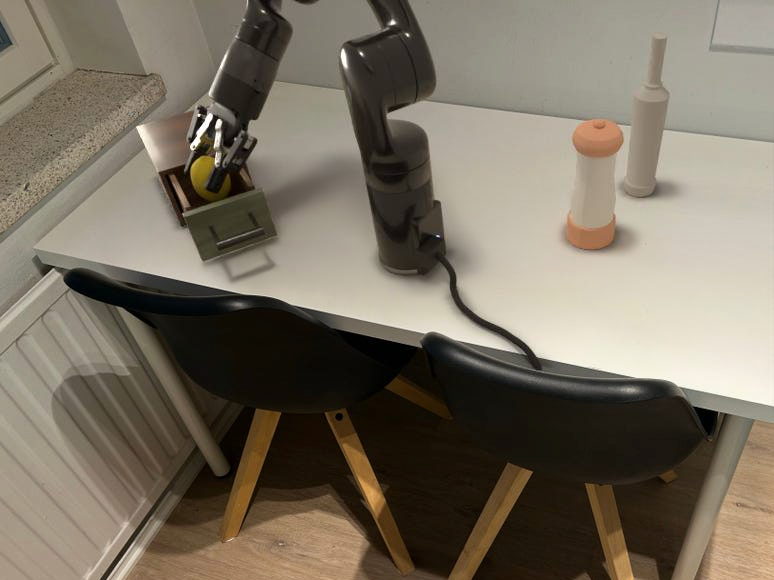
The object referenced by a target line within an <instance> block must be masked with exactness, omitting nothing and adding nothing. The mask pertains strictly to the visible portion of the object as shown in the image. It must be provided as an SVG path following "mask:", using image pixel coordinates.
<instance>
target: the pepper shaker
mask: <svg viewBox="0 0 774 580" xmlns="http://www.w3.org/2000/svg"><path fill="white" fill-rule="evenodd" d="M624 139H625V137H624V132H623V131H622V129H621V127H620V126H619V125H618V123H615V122H614V121H611V120H609V119H604V118H594V119H593V118H592V119H588V120H584V121H582V122H581V123H580V124H578V125H577V126H576V128H575V130H574V131H573V133H572V137H571V141H572V145H573V147H574V149H575V151H576V165H575V174H574V179H573V182H572V187H571V190H570V191H571V192H570V206H569V207H570V210H569V212H568V213H567V217H566V218H567V219H566V239H567V241H568V242H569V243H570V244H572V246H575V247H576V248H579V249H583V250H592V251H594V250H600V249H603V248H605V247H607V246H609V245H610V244H611V243H612V242H613V240H614V238H615V229H616V221H617V218H616V213H615V207H616V202H617V195H616V182H615V173H616V163H617V153H618V152H619V151H620V150H621V148H622V146H623V144H624V142H625V140H624Z"/></svg>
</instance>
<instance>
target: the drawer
mask: <svg viewBox="0 0 774 580" xmlns="http://www.w3.org/2000/svg"><path fill="white" fill-rule="evenodd" d="M225 158H226V156H225V157H223V160H225ZM237 161H238V159H237V158H236V157H235V161H234V163H236V162H237ZM184 170H185V169H183V170H180V171H176V172H173V173H170V174H168V176H169V178H170V181H171V183H172V186H173V188H174V190H175V193H176V195H177V198H178V200H179V202H180V205H181V207H182V209H183V211H184V213H182V214H183V217H184V219H185V221H186V224H185V225H186V226H187V228H188V231H189V233H190V236H191V238H192V240H193V242H194V245H195V247H196V250H197V252H198V255H199V257H200V259H201V261H202V262H203V263H204V262H207V261H209V260H213V259H216V258H218V257H221V256H224V255H227V254H230V253H233V252H235V251H238V250H240V249H243V248H247V247H249V246H252V245H255V244H258V243H261V242H264V241H266V240H269V239H272V238H275V237H277V236H278V232H277V230H276V226H275V223H274V219H273V216H272V214H271V210H270V208H269V204H268V199H267V198H266V197H267V196H266V195H265V191H264V189H263V188H262V187H261V186H260V187H258V188H256V187H255V185H254V183H253V180H252V179H251V180H252V181H251V180H250V178H249V177H248V175H247V174H246V172H245V170H244V169H243V168H242V169H241V171H240V172H239V173H236V172H229V173H228V174H229V176H230V181H231V188H230V191H229V194H228V195H227V196H226V197H225V198H224V199H222V200H221V201H218V202H213V201H208V200H205V199H204V198H202V197H201V196H200V195H199V194H198V193H197V192H196V190H195V189H194V187H193V184H192V180H191V177H190V176H187V175H186V174H185V173H184Z"/></svg>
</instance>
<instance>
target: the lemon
mask: <svg viewBox="0 0 774 580" xmlns="http://www.w3.org/2000/svg"><path fill="white" fill-rule="evenodd" d="M213 166H215V158H213V157H209V156H201V157H200V158H198V159H197V160H196V161H195V162H194V163H193V165H192V167H191V180H192V184H193V187H194V189H195V190H196V192H197V193H198V194H199V195H200V196H201V197H202V198H204V199H205V200H208V201H213V202H218V201H221V200H222V199H224V198H225V197H226V196H227V195H228V194H229V191H230V188H231V181H230V176H229V174H227V176H226V179H225V181H224V183H223V185H222V188H221V190H220V191H219V193H217V194H215V193H212V192H209V191H207V190H206V189H205V188H204V185H205V183H206V181H207V178H208V176H209V174H210V171H211V169H212V167H213Z"/></svg>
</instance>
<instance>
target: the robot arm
mask: <svg viewBox="0 0 774 580" xmlns="http://www.w3.org/2000/svg"><path fill="white" fill-rule="evenodd" d="M283 1H284V0H246V4H245V11H244V12H243V15H242V18H241V20H240V23H239V25H238V28H237V30H236V32H235V34H234V37H233V39H232V41H231V43H230V44H229V46H228V48H227V49H226V50H225V54H224V55H223V58H222V60H221V63H220V64H219V68H218V70H217V72H216V75H215V76H214V79H213V81H212V84H211V86H210V88H209V91H208V97H209V98H210V99H211V100H212V101H213V102H212V104H210V105H211V106H210V105H209V106H210V107H209V108H206V107H207V106H205V105H202V104H200V103H198V104H197V105H195V109H194V110H195V112H194V115H193V118H192V122H191V125H190V128H189V132H188V135H187V142H189V143H190V144H191V150H192V152H191V155H190V157H189V159H188V162H187V164H186V167H185V170H184V173H185V174H186V175H187V176H190V177H191V167H192V165H193V163H194V162H195V161H196V160H197V159H198V158H200V157H201V156H204V155H208V154H209V152H210V151H211V150H212V149H213V147H214V150H215V151H216V158H215V166H213V167H212V169H211V171H210V174H209V176H208V178H207V181H206V183H205V185H204V188H205V189H206V190H207V191H209V192H212V193H215V194H217V193H219V191H220V190H221V188H222V185H223V183H224V181H225V179H226V176H227V174H228V173H229V172H236V173H239V172H240V171H241V169H242V168H243V166H244V164H245V163H246V164H247V161H248V159H249V158H250V156H251V155H252V153H253V151H254V150H255V148H256V146H257V144H258V138H257V137H254V136H253V135H251V134H250V133H249V132H248V130H249V124H250V122H251V121H257V120H259V117H260V116H261V113H262V110H263V109H264V107H265V104H266V102H267V100H268V97H269V95H270V92H271V90H272V88H273V87H274V83H275V81H276V79H277V76H278V73H279V68H280V65H281V62H282V60H283V58H284V56H285V54H286V52H287V49H288V46H289V45H290V42H291V40H292V37H293V34H294V27H293V24H292V22H291V21H290V20H289V19H288V18H287V17H286V16H285V15H283V13H282V11H283ZM292 1H293V2H295V3H297V4H299V5H304V6H311V5H314V4H317V3H318V2H320V0H292ZM365 2H367V4H368V6H369V8H370V9H371V12H372V13H373V14H374V17H375V18H376V21H377V23H378V25H379V26H380V29H379V30H377V31H374V32H370V33H367V34H363V35H360V36H357V37H355V38H351V39H349V40H346V41H345V42H344V43H342V44H341V46H340V49H339V52H338V69H339V74H340V79H341V84H342V88H343V92H344V95H345V100H346V103H347V107H348V111H349V115H350V120H351V125H352V129H353V133H354V137H355V139H356V144H357V147H358V149H359V155H360V159H361V164H362V169H363V175H364V181H365V186H366V192H367V196H368V202H369V207H370V212H371V213H370V214H371V218H372V224H373V228H374V234H375V240H376V245H377V250H378V258H379V259H378V260H379V263H380V265H381V266H382V267H383V268H384V269H385V270H386V271H388V272H390V273H393V274H395V275H402V276H413V275H421V276H426V275H427V274H428V273H429V272H430V271H431V270H433V268H434V267H435V266H436V265H437V264H438V263H440V264H441V265H442V266H443V267H444V269H445V270H446V272H447V273H448V276H449V291H450V293H451V297H452V299H453V302H454V303H455V305H456V306H457V308H458V309H459V310H460V311H461V312H462V313H463V314H464V315H465V316H466V317H468V318H469V319H470V320H471V321H472V322H474V323H475V324H476V325H478V326H480V327H482V328H484V329H487V330H489V331H491V332H493V333H495V334H498V335H500V336H501V337H502V338H505V339H506V340H507V341H509V343H512V344H513V345H515V346H516V347H517V348H518V349H520V350H521V351H522V352H523V353H524V354H525V355H526V356H527V358H528V359H529V361H530V363H531V364H532V366H533V368H534V370H536V371H538V370H539V371H538V372H540V371H542V370H543V367H542V364H541V362H540V360H539V358H538V356H537V355H536V354H535V352H534V351H533V350H532V348H531V347H530V346H529V345H528V344H527V343H526V342H525V341H523V340H522V339H521V338H519V337H517V336H516V335H514V334H512V333H511V332H510V331H508V330H507V329H505V328H503V327H502V326H499V325H497V324H495V323H493V322H490V321H488V320H486V319H484V318H483V317H480V316H479V315H478V314H477V313H475V312H474V311H473V310H471V309H470V308H469V307H468V306H467V305H466V304H465V303H464V302H463V300H462V298H461V296H460V294H459V291H458V287H457V281H458V280H457V278H458V277H457V274H456V271H455V269H454V267H453V265H452V264H451V263H450V261H449V260H448V259H447V258H446V257H445V256H446V254H447V249H446V247H447V246H446V238H445V237H446V236H445V228H444V218H443V209H442V208H443V207H442V202H441V200H439V199H436V197H435V189H434V181H433V171H432V162H431V161H432V160H431V152H430V141H429V136H428V134H427V132H426V131H425V129H424V128H422V127H421V126H420V125H419V124H417V123H414V122H412V121H408V120H404V119H390V118H388V114H391V113H394V112H396V111H398V110H401V109H405V108H407V107H410V106H412V105H415V104H418V103H421V102H424V101H426V100H427V99H429V98H431V97H433V95H434V94H435V92H436V88H437V72H436V66H435V62H434V58H433V55H432V52H431V49H430V46H429V43H428V41H427V39H426V37H425V34H424V32H423V30H422V27H421V24H420V23H419V21H418V17H417V16H416V14H415V11H414V9H413V8H412V5H411V2H410V1H409V0H365ZM201 121H202V122H201ZM197 129H199V130H198V132H197V135H198V137H195V134H196V131H197ZM205 142H206V143H207V144H206V145H205ZM230 147H232V148H231V149H228V148H230ZM224 154H225V155H227V156H226V158H225V160H223V157H224ZM235 157H239V159H238V161H237V162H236V163H234V161H235Z"/></svg>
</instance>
